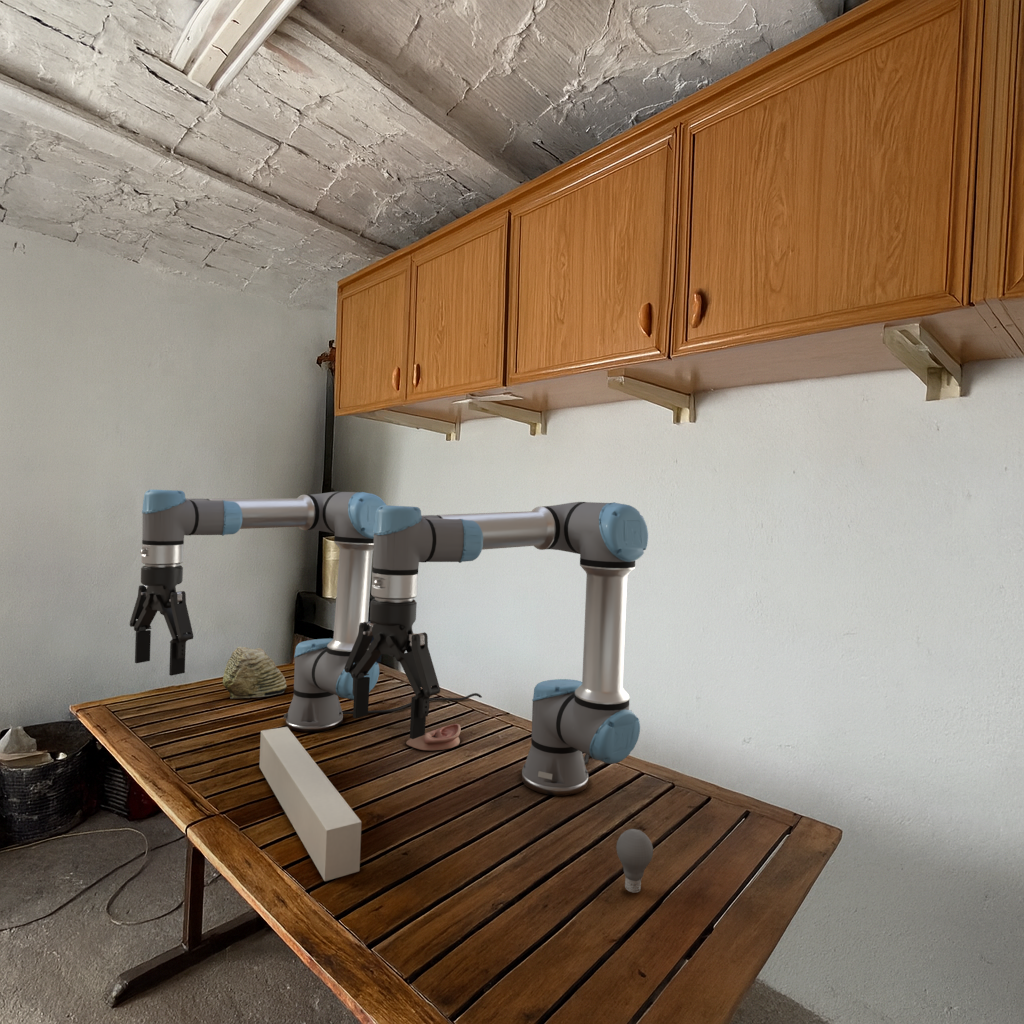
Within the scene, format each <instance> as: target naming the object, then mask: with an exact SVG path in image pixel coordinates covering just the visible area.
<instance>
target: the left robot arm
mask: <svg viewBox="0 0 1024 1024" xmlns="http://www.w3.org/2000/svg"><path fill="white" fill-rule="evenodd" d="M383 505H387V504H386V502H385V501H384V500H383V499H382V497H380V496H379V495H377V494H375V493H371V492H365V491H357V492H356V491H329V492H323V493H313V494H301V495H299V496H298V497H297V498H295V497H290V498H289V497H287V498H286V497H285V498H284V497H282V498H280V497H279V498H276V497H275V498H273V497H271V498H268V497H267V498H265V497H263V498H262V497H261V498H258V497H257V498H256V497H255V498H252V497H251V498H241V497H240V498H238V497H237V498H187V497H186V493H185V491H183V490H177V489H176V490H174V489H148V490H146V491H145V492H144V495H143V499H142V509H141V514H142V523H141V525H142V527H141V529H142V530H141V531H142V532H141V533H142V536H141V538H142V539H141V549H140V551H139V552H140V554H141V563H142V564H143V565H142V566H141V568H140V585H139V586H138V590H137V591H138V592H137V597H136V600H135V603H134V607H133V611H132V613H131V617H130V619H129V627H130V628H132V627H133V630H134V632H135V642H134V643H135V646H134V663H135V664H140V663H147V662H150V661H151V641H152V631H151V629H152V626H151V624H152V622H153V620H154V618H155V617H156V615H157V613H158V612H159V614H160V615H162V616H163V618H164V620H165V623H166V625H167V628H168V631H169V634H170V635H171V640H170V641H169V670H168V671H169V673H168V676H171V677H173V676H177V675H182V674H185V673H186V652H187V651H186V649H187V641H189V640H193V639H194V631H193V627H192V624H191V620H190V615H189V609H188V606H187V596H186V595H187V594H186V592H185V590H182V591H177V588H176V587H177V586H178V585H180V584H182V583H183V580H184V579H183V578H184V577H183V574H184V567H183V566H182V565H181V564H183V563H184V549H185V536H228V535H234V534H237V533H238V532H239V531H240V530H245V529H247V530H248V529H249V530H250V529H274V528H276V529H277V528H298V529H299V530H302V531H318V532H325V533H330V534H334V539H333V542H334V544H335V545H336V546H337V547H338V548H339V551H338V552H339V554H338V568H337V583H336V595H335V611H334V624H333V625H334V627H333V638H317V639H308V640H304V641H300V642H299V643H297V645H296V646H295V650H294V655H293V657H294V672H293V673H294V674H293V695H292V696H293V697H292V699H291V702H290V704H289V708H288V711H287V712H286V713H284V714H283V720H285V727H288V728H289V730H291V731H294V732H295V731H296V732H301V733H316V732H325V731H329V730H332V729H335V728H337V727H339V726H340V725H342V723H343V722H344V715H353V710H350V711H349V710H348V711H343V709H342V706H341V702H340V699H339V698H341V699H347V700H352V701H354V696H353V693H352V691H353V678H352V676H351V674H350V673H349V672H348V673H346V672H345V670H344V668H345V665H346V663H347V660H348V658H349V656H350V653H351V651H352V648H353V646H354V643H355V641H356V639H357V636H358V632H359V625H360V623H362V622H369V614H370V598H371V584H372V569H373V546H374V534H373V530H374V523H375V516H376V511H377V509H378V508H379V507H380V506H383ZM367 651H368V650H367ZM367 674H369V675H366V676H364V677H370V684H369V694H370V693H371V691H372V690H373V689H374V688H375V687H376V684H377V683H378V680H379V678H380V665H379V662H377V661H376V662H375V664H374V665H373V666H372V668H371V669H370V670H369V672H368V673H367ZM472 697H478V698H479V699H480V698H483V696H482V695H481V694H480V693H476V692H474V693H471V694H468V695H466V696H463V697H430V698H429V702H433V701H456V702H457V701H465V700H467V699H469V698H472ZM408 707H411V702H409V703H406V704H404V705H402V706H400V707H396V708H389V709H377V710H368V715H369V714H384V713H386V714H387V713H394V712H398V711H402V710H405V709H406V708H408Z"/></svg>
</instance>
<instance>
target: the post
mask: <svg viewBox="0 0 1024 1024" xmlns="http://www.w3.org/2000/svg"><path fill="white" fill-rule="evenodd" d="M304 747H305V746H303V745H302V743H301V742H300V741H299V740H298V738H297V737H296V736H295V734H294V733H293V732H292V730H291V729H289V728H288V727H287V726H283V727H276V728H271V729H263V730H260V741H259V769H260V771H261V772H262V774H263V776H264V778H265V780H266V782H267V783H268V785H269V787H270V789H271V790H272V792H273V794H274V796H275V797H276V799H277V801H278V802H279V805H280V806H281V808H282V810H283V812H284V814H285V815H286V816H287V818H288V820H289V822H290V824H291V825H292V827H293V828H294V831H295V832H296V834H297V835H298V838H299V839H300V841H301V842H302V844H303V846H304V848H305V850H306V851H307V854H308V855H309V857H310V858H311V860H312V862H313V865H315V867H316V869H317V871H318V873H319V874H320V876H321V878H322V879H323V881H324V882H328V881H331V880H334V879H338V878H342V877H345V876H349V875H351V874H355V873H358V872H360V868H361V867H360V866H361V844H362V820H361V819H360V818H359V816H358V815H357V814H356V813H355V812H354V810H353V809H352V807H351V806H350V805H349V804H348V803H347V801H346V800H345V798H344V797H343V796H342V795H341V794H340V792H339V791H338V789H337V788H336V787H335V786H334V785H333V783H332V782H331V780H329V778H328V777H327V776H326V774H325V773H324V771H323V770H322V769H321V768H320V766H319V765H318V764H317V763H316V761H315V760H314V758H313V757H311V755H310V754H309V753H308V751H307V750H306V748H304Z"/></svg>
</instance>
